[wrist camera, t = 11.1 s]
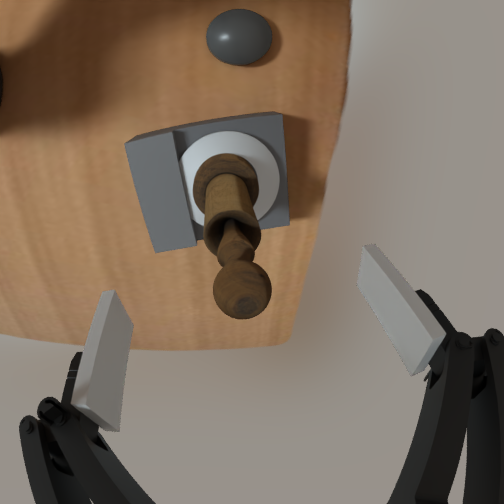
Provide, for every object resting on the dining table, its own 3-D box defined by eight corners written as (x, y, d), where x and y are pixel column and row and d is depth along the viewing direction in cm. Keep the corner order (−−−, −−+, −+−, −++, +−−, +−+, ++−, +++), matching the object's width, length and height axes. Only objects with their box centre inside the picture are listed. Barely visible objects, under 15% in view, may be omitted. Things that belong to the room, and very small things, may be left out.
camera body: (161, 231, 35) (155, 253, 31) (136, 135, 28) (124, 143, 24) (281, 211, 36) (292, 229, 32) (273, 111, 29) (285, 115, 25)
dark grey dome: (210, 69, 25) (210, 68, 24) (203, 15, 21) (203, 12, 20) (273, 62, 26) (275, 61, 25) (266, 10, 22) (268, 7, 21)
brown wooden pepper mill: (190, 155, 26) (165, 256, 11) (255, 151, 27) (319, 243, 12) (196, 215, 30) (190, 354, 15) (256, 210, 30) (303, 342, 15)
